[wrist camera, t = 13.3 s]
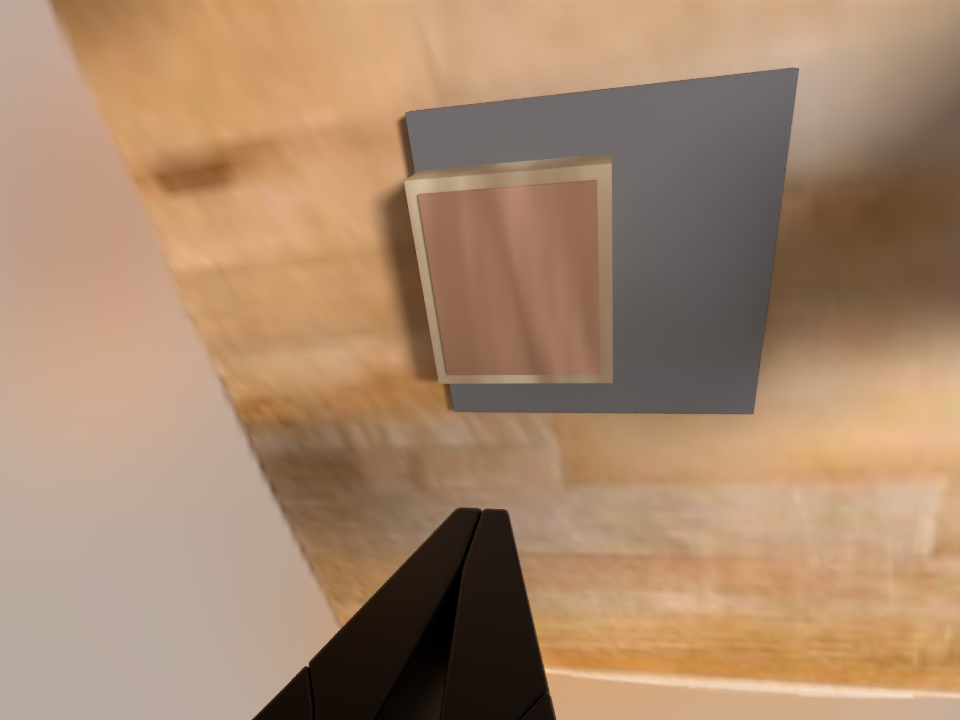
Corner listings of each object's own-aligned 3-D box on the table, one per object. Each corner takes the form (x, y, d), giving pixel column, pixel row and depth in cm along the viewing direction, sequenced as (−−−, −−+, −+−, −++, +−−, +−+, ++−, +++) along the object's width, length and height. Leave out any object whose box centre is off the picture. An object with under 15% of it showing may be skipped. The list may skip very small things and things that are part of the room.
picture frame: (611, 164, 15) (402, 181, 17) (613, 384, 19) (438, 385, 20) (610, 153, 17) (418, 170, 18) (612, 360, 20) (449, 361, 21)
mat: (793, 67, 15) (798, 68, 15) (750, 406, 21) (753, 414, 20) (409, 111, 18) (405, 113, 17) (456, 404, 23) (454, 412, 23)
